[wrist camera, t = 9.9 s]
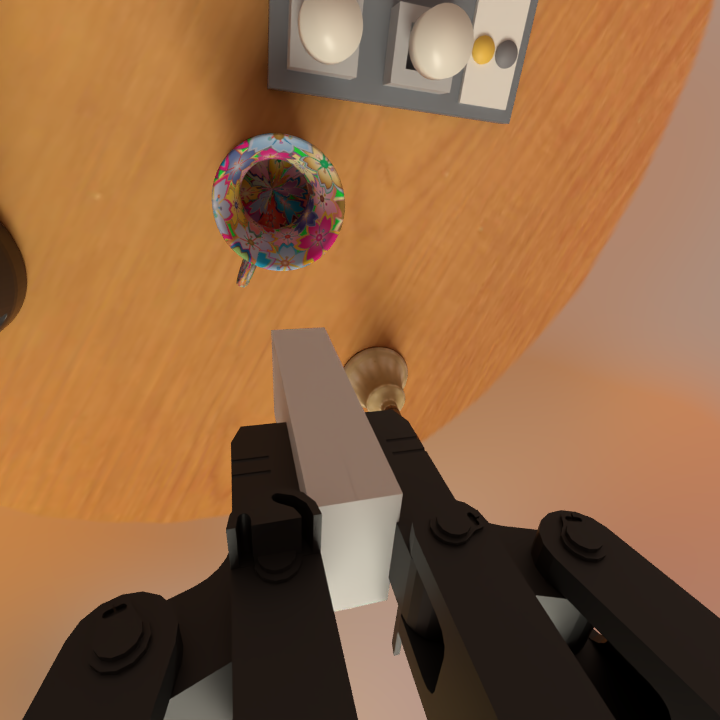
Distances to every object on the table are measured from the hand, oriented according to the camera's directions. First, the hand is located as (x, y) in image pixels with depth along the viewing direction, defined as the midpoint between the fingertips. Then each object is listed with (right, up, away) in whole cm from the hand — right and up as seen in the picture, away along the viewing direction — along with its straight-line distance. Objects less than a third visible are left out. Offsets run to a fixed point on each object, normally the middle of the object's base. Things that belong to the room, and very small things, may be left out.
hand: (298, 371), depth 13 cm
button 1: (-1, +25, +21) cm, 33 cm away
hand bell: (+3, -2, +40) cm, 40 cm away
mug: (-7, +15, +28) cm, 32 cm away
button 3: (+7, +25, +22) cm, 34 cm away
